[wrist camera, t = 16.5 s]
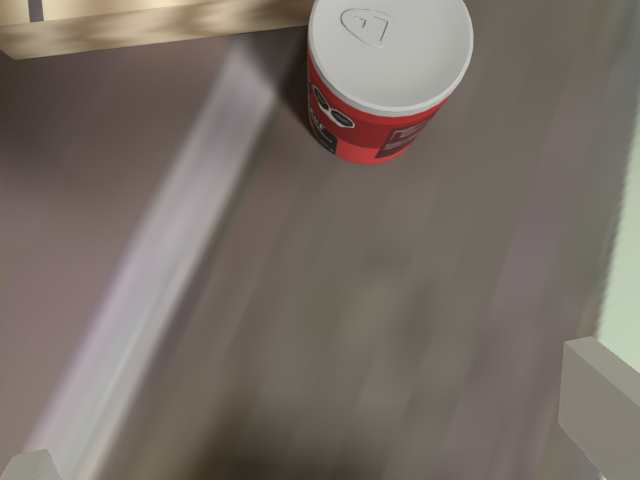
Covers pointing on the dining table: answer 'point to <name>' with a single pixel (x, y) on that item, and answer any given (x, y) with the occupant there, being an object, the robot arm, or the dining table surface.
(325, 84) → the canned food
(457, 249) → the dining table surface
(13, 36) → the maple plank
